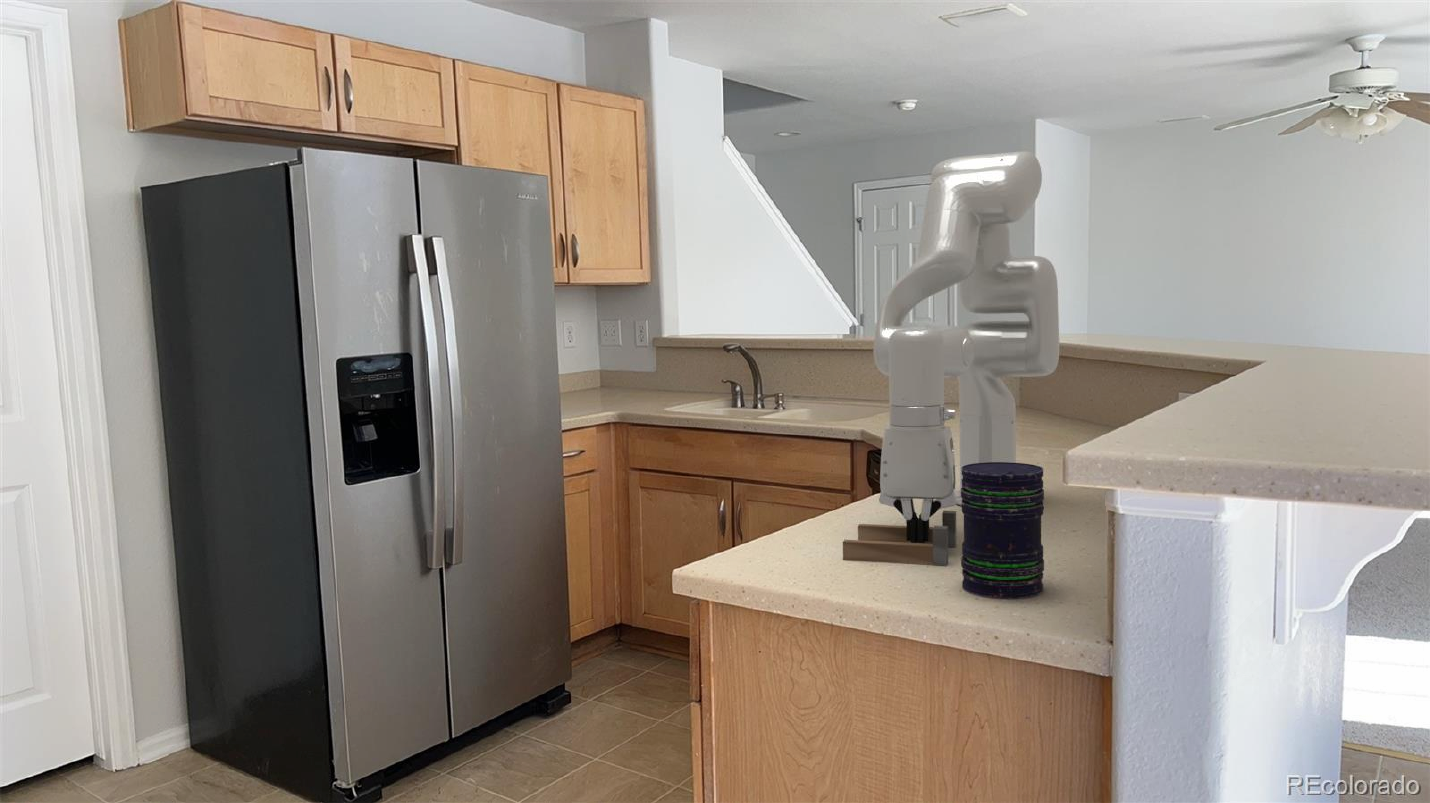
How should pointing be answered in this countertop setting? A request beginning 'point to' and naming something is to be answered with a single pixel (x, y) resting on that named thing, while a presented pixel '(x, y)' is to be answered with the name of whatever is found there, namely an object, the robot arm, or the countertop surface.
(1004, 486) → the dark blue cylinder
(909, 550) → the chute
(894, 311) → the robot arm
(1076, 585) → the countertop surface
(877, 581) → the countertop surface
